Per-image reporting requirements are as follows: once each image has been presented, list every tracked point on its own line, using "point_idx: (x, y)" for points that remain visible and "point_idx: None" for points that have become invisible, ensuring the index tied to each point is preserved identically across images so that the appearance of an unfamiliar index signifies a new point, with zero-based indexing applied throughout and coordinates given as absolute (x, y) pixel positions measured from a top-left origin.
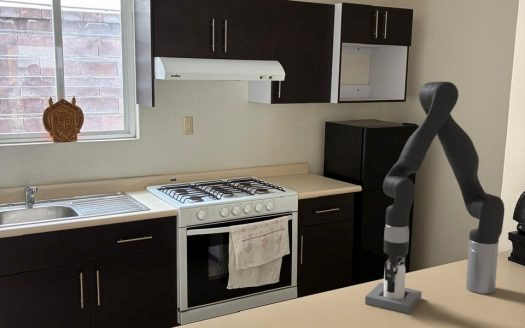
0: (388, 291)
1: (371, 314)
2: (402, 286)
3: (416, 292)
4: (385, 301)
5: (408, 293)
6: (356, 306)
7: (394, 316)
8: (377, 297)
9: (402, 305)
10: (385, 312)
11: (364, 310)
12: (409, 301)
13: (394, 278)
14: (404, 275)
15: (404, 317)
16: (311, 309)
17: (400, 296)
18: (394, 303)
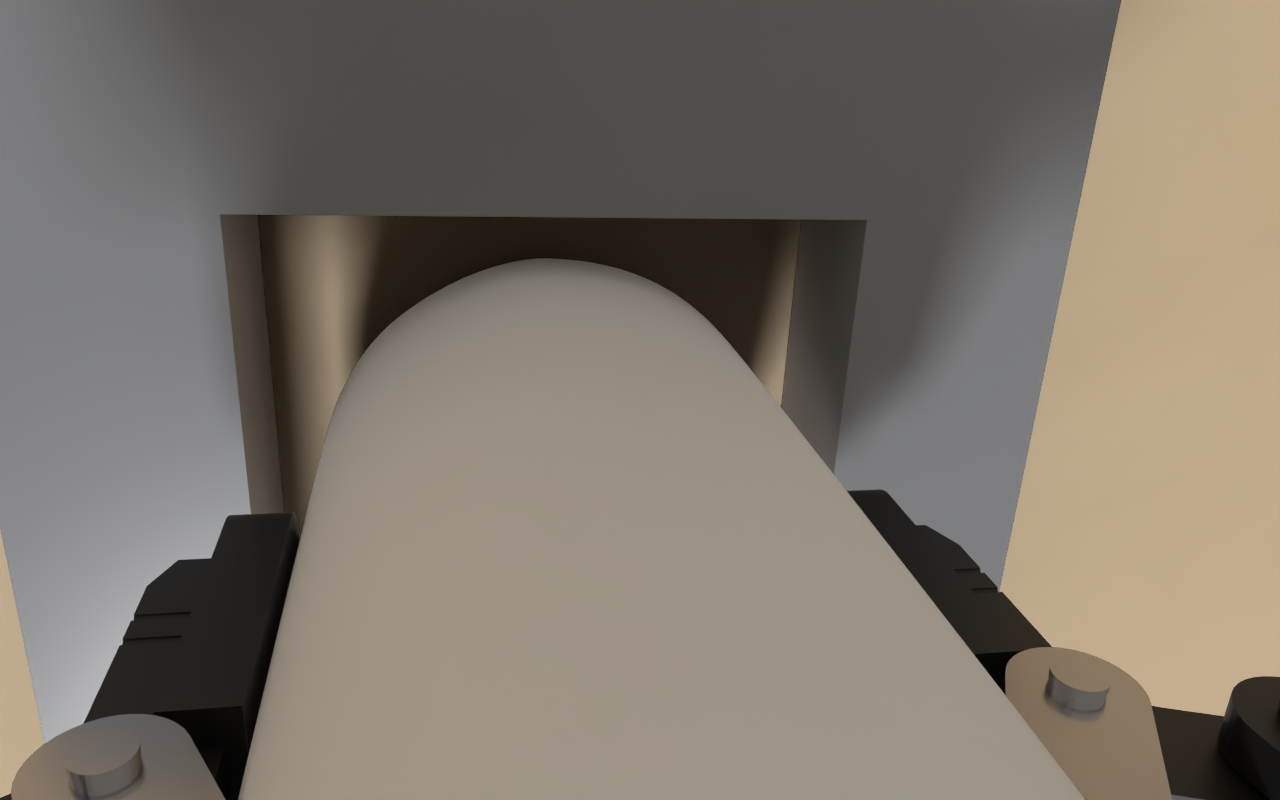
0: None
1: (1239, 528)
2: (713, 393)
3: (112, 40)
4: (1005, 502)
5: (232, 239)
6: None
7: (1215, 197)
8: None
9: (1075, 147)
10: (1101, 381)
11: (1130, 658)
12: (860, 49)
13: (1132, 729)
14: (701, 554)
15: (1208, 17)
16: None
17: (698, 323)
18: (1042, 325)
